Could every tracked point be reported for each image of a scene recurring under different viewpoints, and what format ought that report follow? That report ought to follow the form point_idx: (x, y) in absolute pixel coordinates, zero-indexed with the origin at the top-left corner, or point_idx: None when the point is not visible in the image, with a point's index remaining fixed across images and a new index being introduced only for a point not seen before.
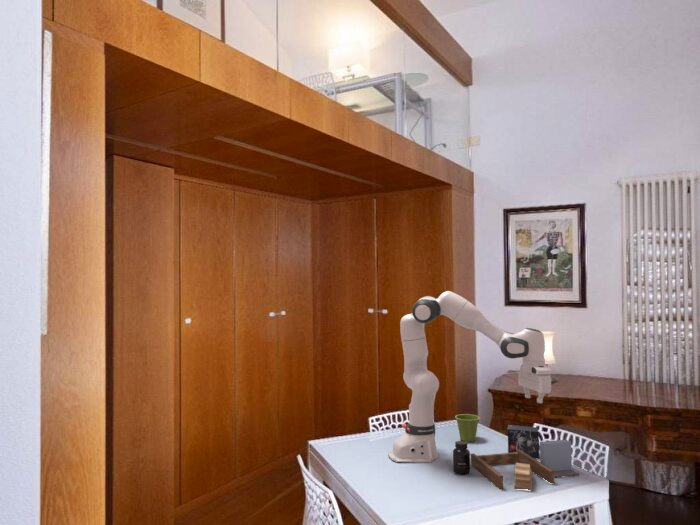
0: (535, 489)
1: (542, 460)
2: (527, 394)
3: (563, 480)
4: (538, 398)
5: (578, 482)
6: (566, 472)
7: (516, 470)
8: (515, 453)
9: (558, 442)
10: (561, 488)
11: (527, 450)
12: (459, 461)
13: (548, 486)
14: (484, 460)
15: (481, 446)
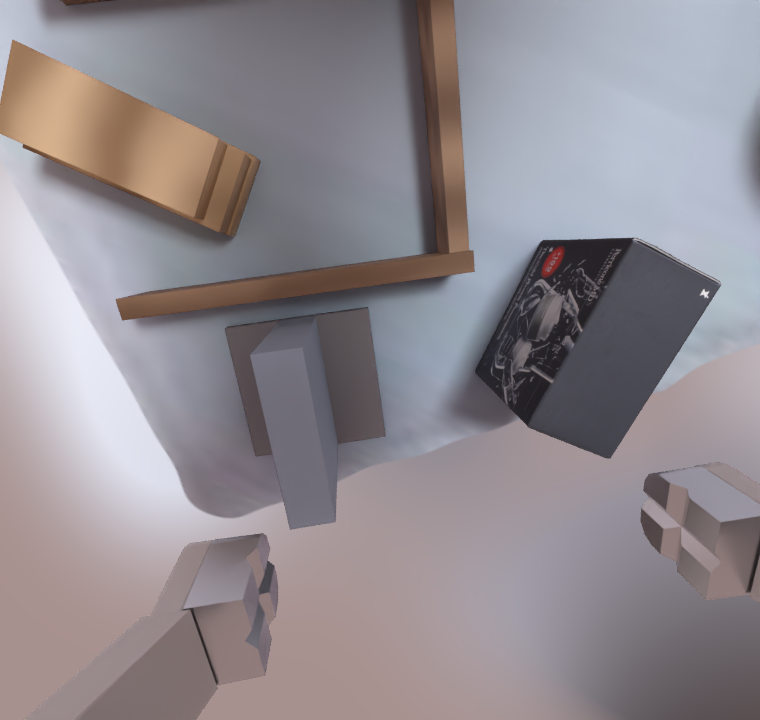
0: (82, 189)
1: (291, 327)
2: (710, 533)
3: (202, 367)
4: (147, 622)
5: (179, 418)
6: None
7: (73, 78)
8: (448, 235)
9: (281, 458)
10: (105, 319)
11: (509, 332)
12: None
13: (125, 270)
14: (425, 18)
15: (713, 143)
